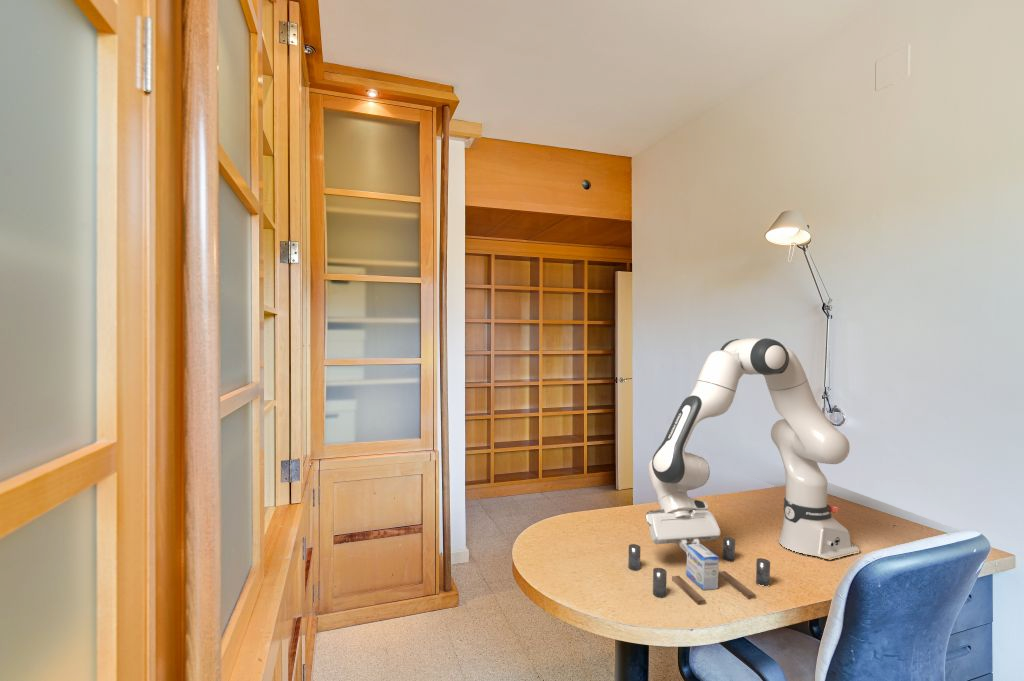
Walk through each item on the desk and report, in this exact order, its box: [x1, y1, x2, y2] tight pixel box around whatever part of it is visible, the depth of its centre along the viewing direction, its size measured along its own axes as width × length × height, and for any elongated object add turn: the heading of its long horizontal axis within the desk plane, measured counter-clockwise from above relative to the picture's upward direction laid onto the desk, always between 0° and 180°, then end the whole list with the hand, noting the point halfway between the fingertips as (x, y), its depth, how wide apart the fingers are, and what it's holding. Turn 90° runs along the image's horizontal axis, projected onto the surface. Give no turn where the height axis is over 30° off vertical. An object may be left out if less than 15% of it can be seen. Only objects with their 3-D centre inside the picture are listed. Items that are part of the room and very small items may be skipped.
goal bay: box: [671, 570, 757, 606], centre depth 125 cm, size 16×12×1 cm
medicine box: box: [685, 543, 720, 591], centre depth 129 cm, size 8×4×9 cm, turn 12°
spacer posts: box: [627, 536, 771, 599], centre depth 132 cm, size 33×17×6 cm, turn 102°
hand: (694, 557), depth 133 cm, fingers closed, pressing on medicine box
